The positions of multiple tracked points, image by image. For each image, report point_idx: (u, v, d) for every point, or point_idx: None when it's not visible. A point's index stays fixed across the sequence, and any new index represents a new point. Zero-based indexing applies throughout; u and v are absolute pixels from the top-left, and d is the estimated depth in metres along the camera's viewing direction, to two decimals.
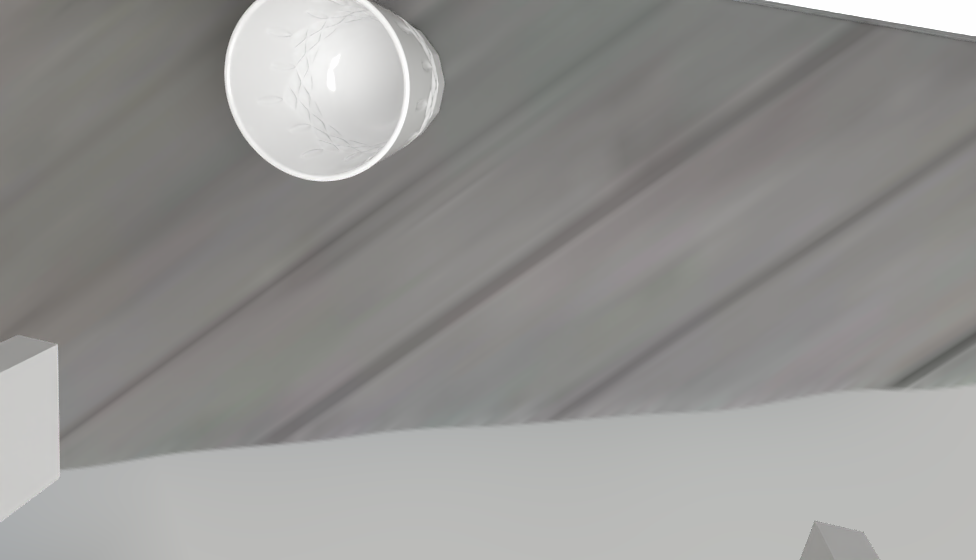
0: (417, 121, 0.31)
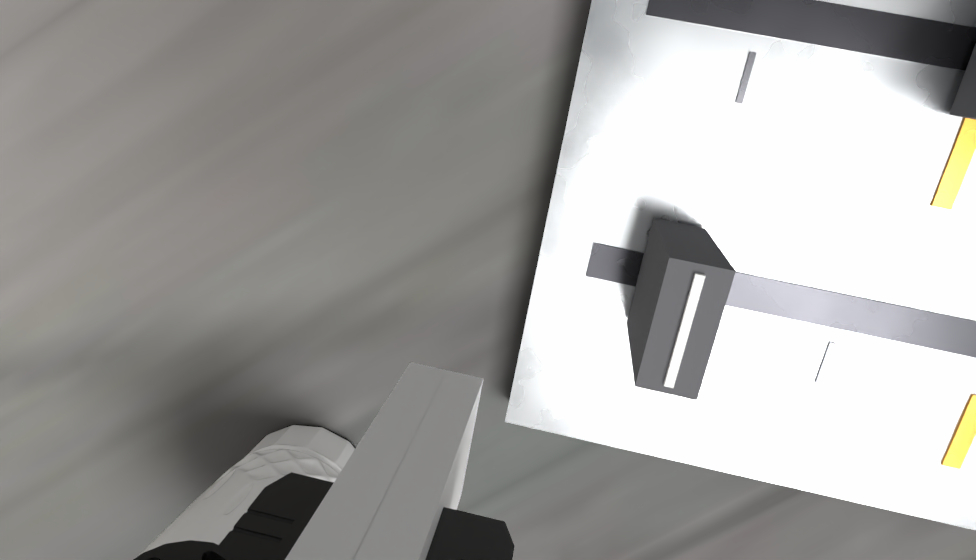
0: None
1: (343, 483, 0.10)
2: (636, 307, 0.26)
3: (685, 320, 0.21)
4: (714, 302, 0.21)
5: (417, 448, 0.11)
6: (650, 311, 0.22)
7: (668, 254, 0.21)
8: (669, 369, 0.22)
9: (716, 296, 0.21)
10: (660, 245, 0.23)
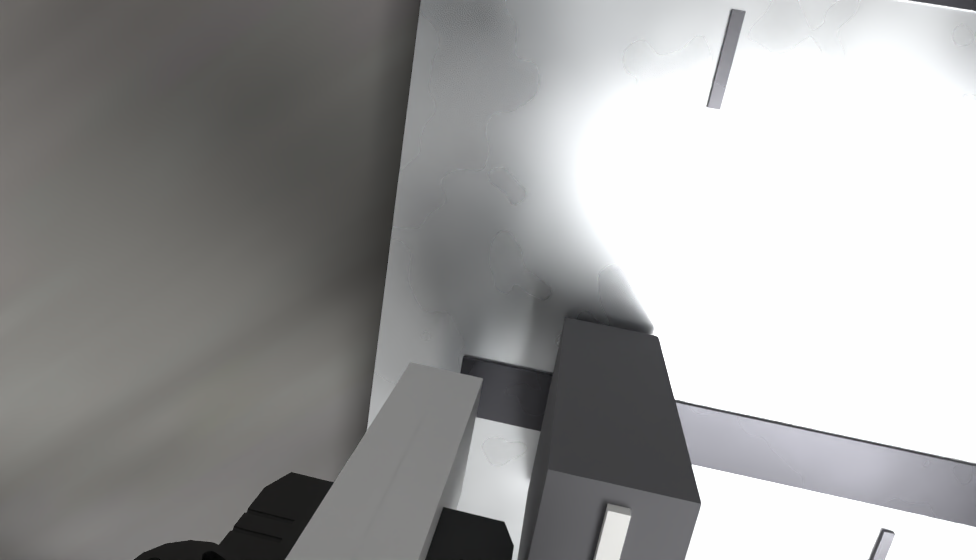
0: None
1: (344, 483, 0.10)
2: (530, 489, 0.14)
3: None
4: None
5: (417, 448, 0.11)
6: (525, 556, 0.10)
7: (550, 453, 0.09)
8: None
9: (659, 555, 0.09)
10: (554, 402, 0.11)
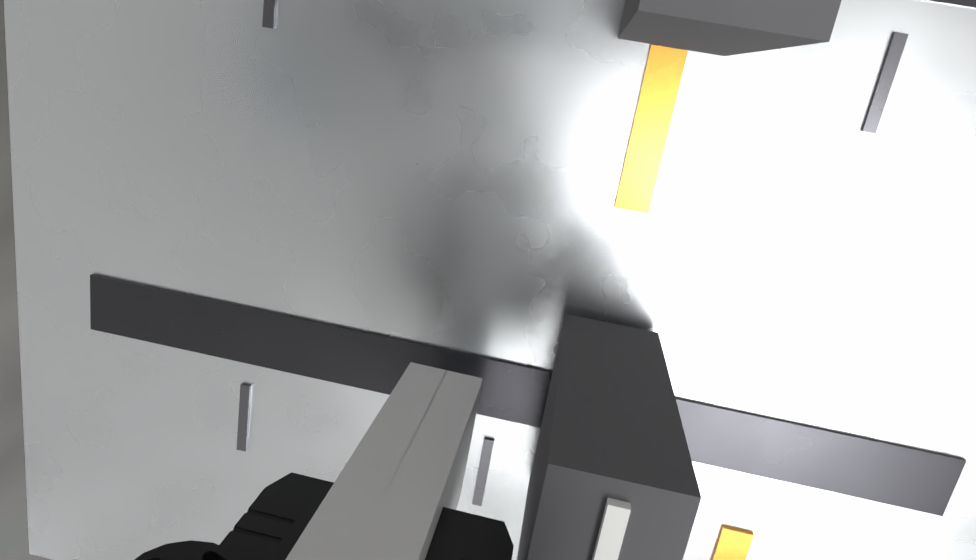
0: None
1: (343, 483, 0.10)
2: (531, 485, 0.14)
3: None
4: None
5: (417, 448, 0.11)
6: (525, 551, 0.10)
7: (551, 448, 0.09)
8: None
9: (659, 549, 0.09)
10: (554, 397, 0.11)
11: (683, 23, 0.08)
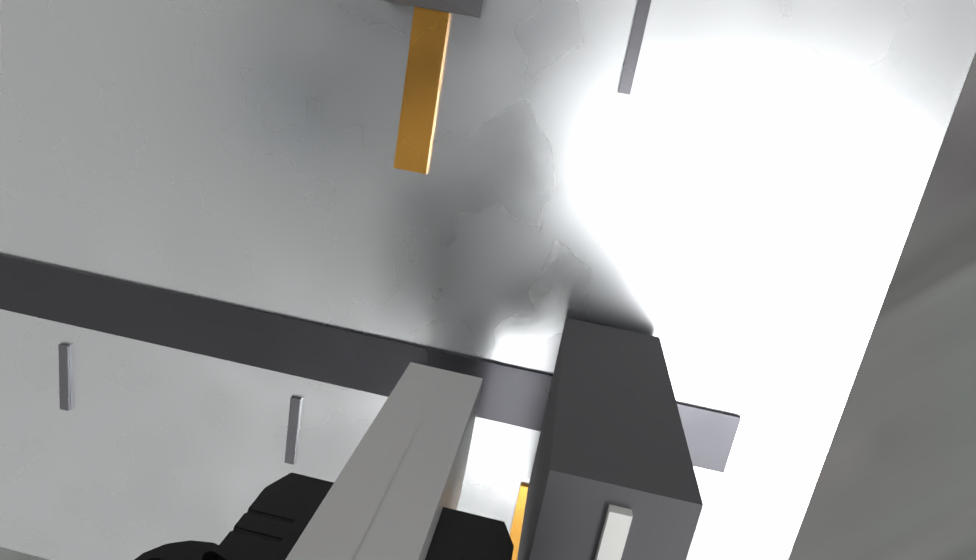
0: None
1: (344, 483, 0.10)
2: (531, 489, 0.14)
3: None
4: None
5: (416, 448, 0.11)
6: (526, 557, 0.10)
7: (552, 454, 0.09)
8: None
9: (660, 556, 0.09)
10: (555, 402, 0.11)
11: None
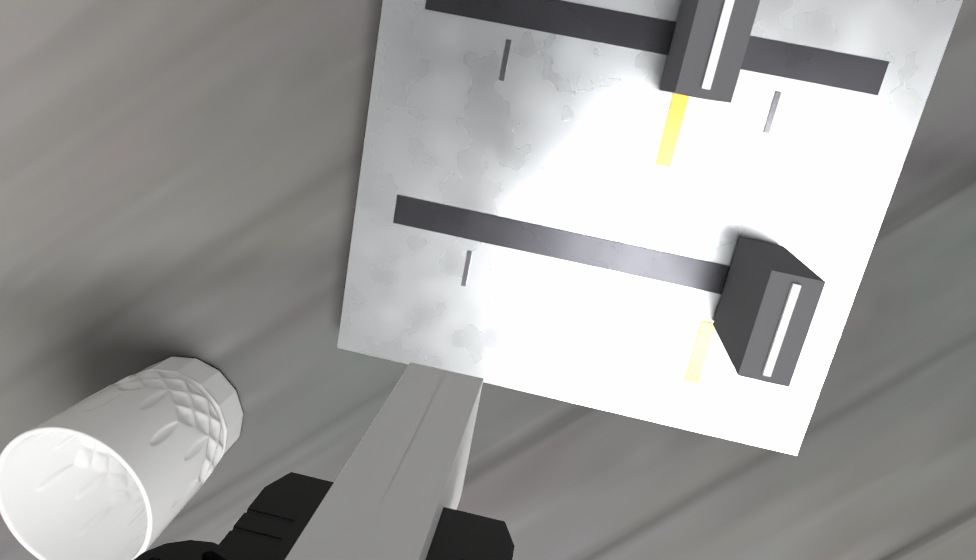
0: (184, 502, 0.35)
1: (343, 483, 0.10)
2: (727, 311, 0.31)
3: (783, 321, 0.26)
4: (807, 307, 0.26)
5: (417, 448, 0.11)
6: (750, 314, 0.27)
7: (769, 267, 0.26)
8: (768, 361, 0.27)
9: (809, 302, 0.26)
10: (755, 260, 0.28)
11: None
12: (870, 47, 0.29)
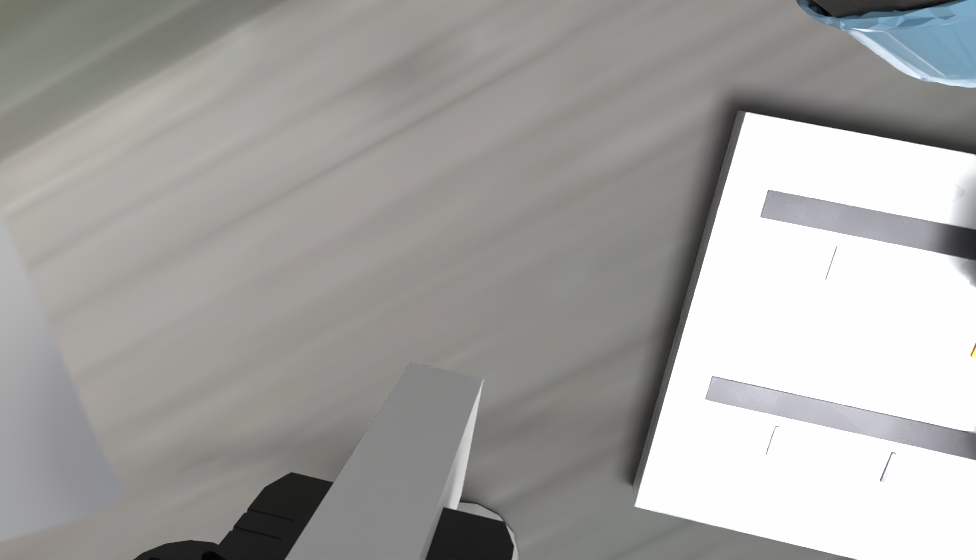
0: None
1: (343, 483, 0.10)
2: None
3: None
4: None
5: (417, 448, 0.11)
6: None
7: None
8: None
9: None
10: None
11: None
12: None
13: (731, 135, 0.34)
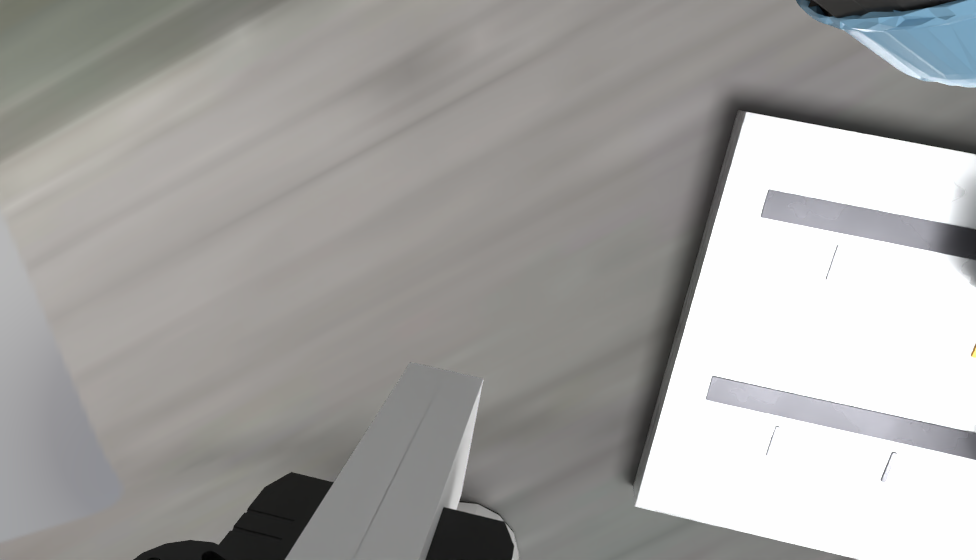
0: None
1: (343, 483, 0.10)
2: None
3: None
4: None
5: (417, 448, 0.11)
6: None
7: None
8: None
9: None
10: None
11: None
12: None
13: (731, 135, 0.34)
